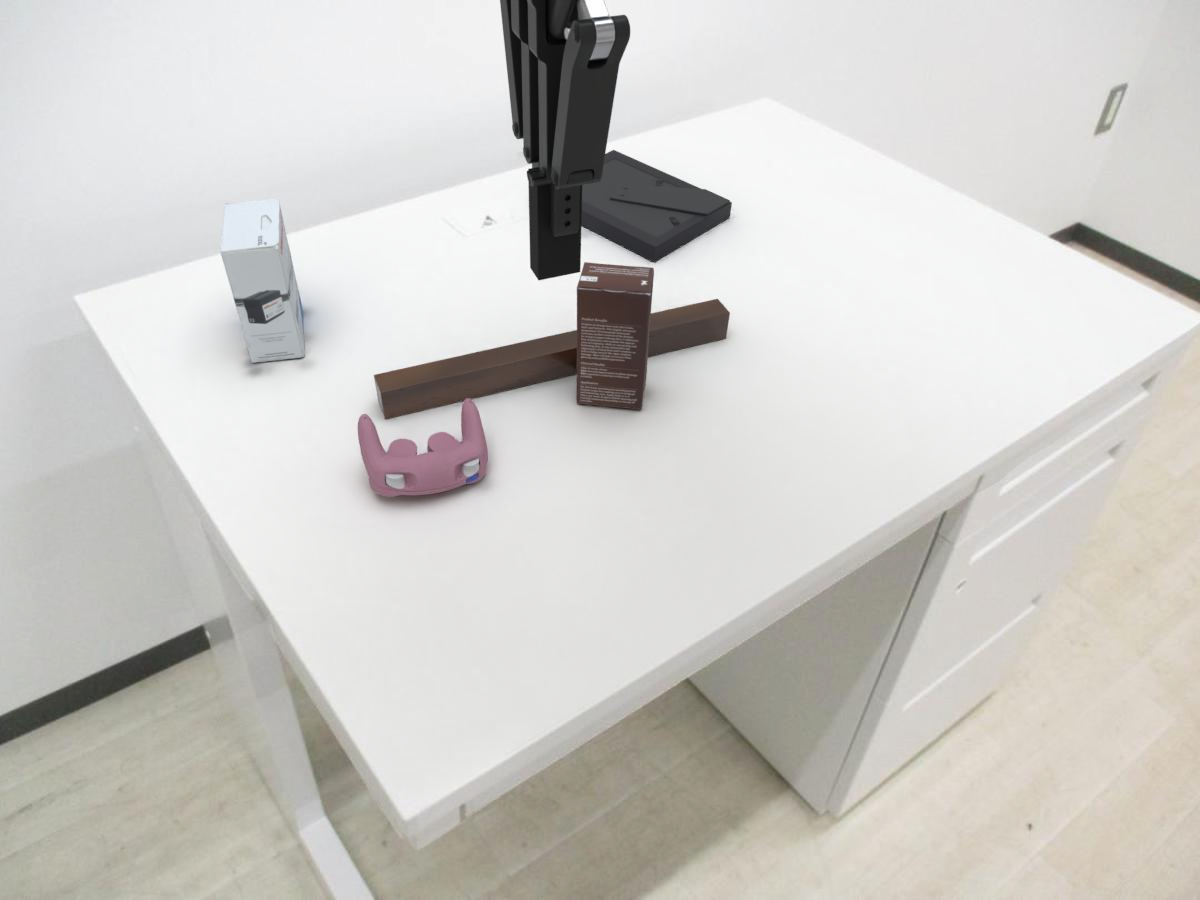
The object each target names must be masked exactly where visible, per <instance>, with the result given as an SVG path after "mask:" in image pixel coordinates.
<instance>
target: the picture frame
mask: <svg viewBox="0 0 1200 900" xmlns="http://www.w3.org/2000/svg"><path fill="white" fill-rule="evenodd" d="M732 205H733V202H732V201H731V200H730V199H728V198H726V197H724V196H721V195H719V194H717V193H715V192H713V191H711V190H708V189H706V188H700V187H699V186H696V185H694V184H691V183H689V182H687V181H685V180H683V179H680V178H678V177H677V176H673V175H671V174H669V173H667V172H665V171H663V170H660V169H658V168H656V167H653V166H651V165H648V164H646V163H644V162H642V161H640V160H638V159H635V158H634V157H630V156H629V155H627V154H624V153H622V152H619V151H617V150H615V149H612V150H610V151H608V152H605V158H604V165H603V171H602V177H601V181H600V182H596V183H590V184H585V185H582V221H581V227H583V228H585V229H587V230H589V231H591V232H592V233H595V234H597V235H599V236H601V237H603V238H605V239H607V240H609V241H610V242H613V243H614V244H617V245H619V246H621V247H622V248H624V249H626V250H629V251H630V252H632V253H634V254H636V255H638V256H640V257H643V258H644V259H646V260H648V261H650V262H652V263H656V262H658V261H659V260H661V259H663V258H664V257H666V256H667V255H669V254H671V253H673V252H675V251H676V250H678V249H679V248H681V247H683V246H685V245H686V244H689V243H690V242H691V241H693V240H695V239H696V238H698V237H699V236H701V235H703V234H704V233H706V232H708V231H709V230H711V229H713V228H714V227H717V225H720V224H721V223H723V222H725V221H726V220H728V219H730V218H731V214H732V213H731V212H732V207H733V206H732Z"/></svg>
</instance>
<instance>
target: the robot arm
mask: <svg viewBox="0 0 1200 900" xmlns="http://www.w3.org/2000/svg"><path fill="white" fill-rule="evenodd" d="M499 4H500V13H501V24H502V36H503V44H504V53H505V55H504V56H505V61H506V62H505V63H506V72H507V84H508V92H509V93H508V94H509V104H510V112H511V121H512V125H511V129H512V133H513V135H514V137H515V139H517V140H522V139H523V140H522V141H523V147H522V153H523V157H524V159H525V162H526V163H527V164H528V165H530V164H531V167H530V168H528V169H527V170H526V178H527V181H528V215H529V217H528V221H529V223H528V225H529V226H528V227H529V228H528V229H529V265H530V266H529V268H530V269H531V271H532V273H533V274H534V276H535V277H536V278H537V281H545V280H548V279H554V278H557V277H563V276H567V275H572V274H579V273H581V263H582V262H581V260H582V259H581V258H582V226H581V221H582V185H585V184H590V183H596V182H600V181H601V177H602V171H603V165H604V158H605V154H606V153H607V145H608V139H609V134H610V133H609V132H610V125H611V120H612V113H613V108H614V101H615V95H616V88H617V81H618V75H619V69H620V64H621V60H622V59H623V56H624V54H625V51H626V49H627V46H628V44H629V42H630V39H631V25H630V20H629V18H628V16H627V15H626V14H617V15H610V14H609V11H608V7H607V6H606V2H605V0H499Z"/></svg>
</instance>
